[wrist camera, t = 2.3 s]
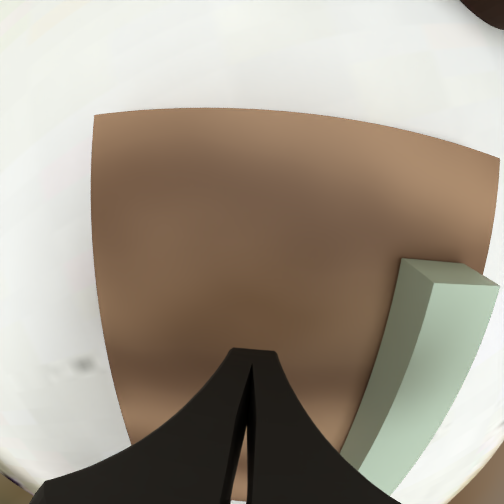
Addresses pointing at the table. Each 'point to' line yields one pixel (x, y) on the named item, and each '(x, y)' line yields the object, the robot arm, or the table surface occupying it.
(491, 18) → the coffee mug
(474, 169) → the wooden cutting board
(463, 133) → the table surface
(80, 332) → the table surface
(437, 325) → the sage green stick
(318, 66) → the table surface
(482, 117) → the table surface
